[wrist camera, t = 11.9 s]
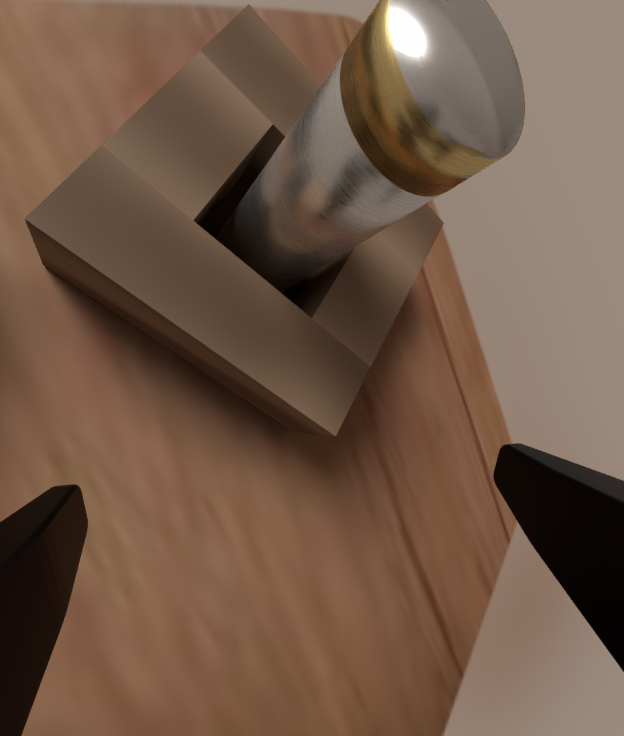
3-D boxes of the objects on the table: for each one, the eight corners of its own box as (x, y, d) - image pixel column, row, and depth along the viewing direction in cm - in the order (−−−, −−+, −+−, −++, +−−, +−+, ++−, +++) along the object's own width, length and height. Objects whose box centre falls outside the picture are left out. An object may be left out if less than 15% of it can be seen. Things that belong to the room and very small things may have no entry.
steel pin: (300, 296, 19) (538, 169, 9) (222, 302, 17) (410, 148, 7) (285, 217, 19) (506, -5, 9) (206, 214, 17) (369, -74, 7)
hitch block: (291, 431, 18) (335, 436, 15) (43, 265, 14) (24, 219, 11) (390, 251, 23) (443, 222, 19) (220, 81, 18) (248, 4, 15)
